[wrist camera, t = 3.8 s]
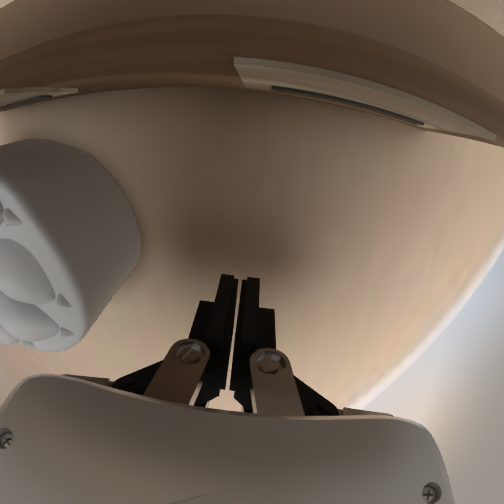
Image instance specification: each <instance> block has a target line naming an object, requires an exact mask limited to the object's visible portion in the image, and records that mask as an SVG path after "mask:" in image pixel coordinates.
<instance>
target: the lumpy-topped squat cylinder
mask: <svg viewBox="0 0 504 504" xmlns="http://www.w3.org/2000/svg"><path fill="white" fill-rule="evenodd" d="M141 248H142V241H141V234H140V229H139V226H138V223H137V220H136V217H135V214H134V212H133V210H132V207H131V205H130V203H129V201H128V199H127V197H126V196H125V194H124V193H123V191H122V190H121V188H120V187H119V186H118V184H117V183H116V182H115V181H114V179H113V178H112V177H111V176H110V175H109V173H108V172H107V171H106V170H105V169H104V168H103V166H102V165H101V164H100V163H99V162H98V161H97V160H96V159H95V158H94V157H92V156H91V155H89V154H87V153H85V152H83V151H81V150H79V149H76V148H74V147H71V146H68V145H65V144H62V143H59V142H55V141H50V140H42V139H33V138H32V139H25V140H21V141H17V142H13V143H9V144H6V145H2V146H0V344H1V345H11V344H15V343H18V344H20V345H22V346H23V347H25V348H30V349H35V350H41V351H49V352H59V351H63V350H67V349H69V348H71V347H73V346H74V345H76V344H77V343H79V342H80V341H81V340H82V339H83V338H84V336H85V335H86V334H87V332H88V331H89V329H90V328H91V327H92V325H93V324H94V322H95V321H96V320H97V318H98V317H99V315H100V314H101V313H102V311H103V310H104V308H105V307H106V306H107V304H108V303H109V301H110V300H111V299H112V297H113V296H114V295H115V293H116V292H117V290H118V289H119V288H120V286H121V285H122V284H123V282H124V281H125V280H126V278H127V277H128V276H129V274H130V273H131V272H132V270H133V269H134V268H135V266H136V265H137V263H138V261H139V258H140V254H141Z"/></svg>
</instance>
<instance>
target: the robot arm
mask: <svg viewBox="0 0 504 504" xmlns="http://www.w3.org/2000/svg"><path fill="white" fill-rule="evenodd" d="M237 288H238V279H234V275H227V274H222V275H221V278H220V282H219V286H218V290H217V294H216V298H215V302H209V301H200V303H199V306H198V309H197V312H196V315H195V318H194V321H193V325H192V328H191V331H190V334H189V337H188V339H183V340H179V341H178V342H176V343H174V344H173V346H172V347H171V348H170V350H169V352H168V353H167V355H166V357H165V358H164V360H162V361H160V362H157V363H155V364H153V365H150V366H148V367H145V368H143V369H141V370H138V371H136V372H133V373H131V374H128V375H126V376H123V377H121V378H119V379H117V380H116V381H115V382H113V381H110V379H108V378H96V377H86V376H77V375H69V374H65V375H55V374H40V375H33V376H29V377H27V378H25V379H24V380H22V381H21V382H20V383H19V384H18V385H17V386H16V387H15V388H14V389H13V390H12V392H11V393H10V394H9V395H8V397H7V398H6V400H5V401H4V403H3V404H2V406H1V407H0V504H455V503H454V498H453V493H452V489H451V485H450V481H449V478H448V474H447V471H446V468H445V465H444V461H443V459H442V456H441V454H440V451H439V448H438V446H437V444H436V442H435V440H434V438H433V437H432V435H431V434H430V432H429V431H428V430H427V429H426V428H425V427H424V426H422V425H421V424H419V423H416V422H414V421H411V420H408V419H403V418H399V417H394V416H393V415H390V414H387V413H378V412H371V411H364V410H357V409H351V408H345V407H344V408H343V410H341V409H337V407H336V406H334V405H333V404H332V403H331V402H330V401H328V400H327V399H325V398H324V397H323V396H321V395H320V394H318V393H317V392H316V391H314V390H313V389H312V388H310V387H309V386H308V385H306V384H305V383H304V382H302V381H301V380H300V379H298V378H297V377H296V376H294V375H293V372H292V368H291V365H290V361H289V359H288V357H287V356H286V355H285V354H284V353H282V352H280V351H279V350H276V336H275V312H274V309H267V308H259V289H260V278H252V277H247V280H242V286H241V294H240V302H239V310H238V317H237V325H236V333H235V342H234V351H233V361H232V370H231V380H230V389H229V390H232V391H235V392H234V398H235V399H236V400H237V401H238V402H239V403H240V404H241V405H242V412H236V411H227V410H219V409H212V408H208V406H209V401H210V400H212V399H214V398H215V397H217V396H219V393H220V389H223V390H225V387H226V380H227V372H228V365H229V357H230V350H231V342H232V335H233V327H234V317H235V307H236V298H237Z"/></svg>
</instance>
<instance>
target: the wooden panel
mask: <svg viewBox="0 0 504 504" xmlns="http://www.w3.org/2000/svg"><path fill="white" fill-rule="evenodd" d="M159 87H198V88H221V89H235V90H247V91H257V92H265V93H273V94H281V95H287V96H294V97H300V98H306V99H311V100H317V101H322V102H327V103H331V104H336V105H340V106H345V107H349V108H353V109H357V110H361V111H365V112H368V113H372V114H376V115H379V116H383V117H386V118H389V119H393V120H396V121H399V122H402V123H405V124H408V125H411V126H414V127H417V128H420V129H422V130H425V131H431V132H437V133H443V134H448V135H453V136H458V137H463V138H468V139H473V140H477V141H481V142H485V143H489V144H493V145H497V146H501V147H504V37H503V36H502V35H500V34H499V33H498V32H496V31H495V30H494V29H492V28H491V27H490V26H488V25H487V24H485V23H484V22H483V21H481V20H480V19H478V18H477V17H475V16H474V15H472V14H470V13H469V12H467V11H466V10H464V9H462V8H461V7H459V6H457V5H456V4H454V3H452V2H450V1H449V0H14V1H13V2H11V3H9V4H7V5H6V6H4V7H3V8H1V9H0V112H1V111H6V110H9V109H13V108H16V107H20V106H24V105H28V104H32V103H37V102H41V101H46V100H51V99H56V98H61V97H67V96H73V95H79V94H86V93H93V92H102V91H111V90H122V89H136V88H159Z"/></svg>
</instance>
